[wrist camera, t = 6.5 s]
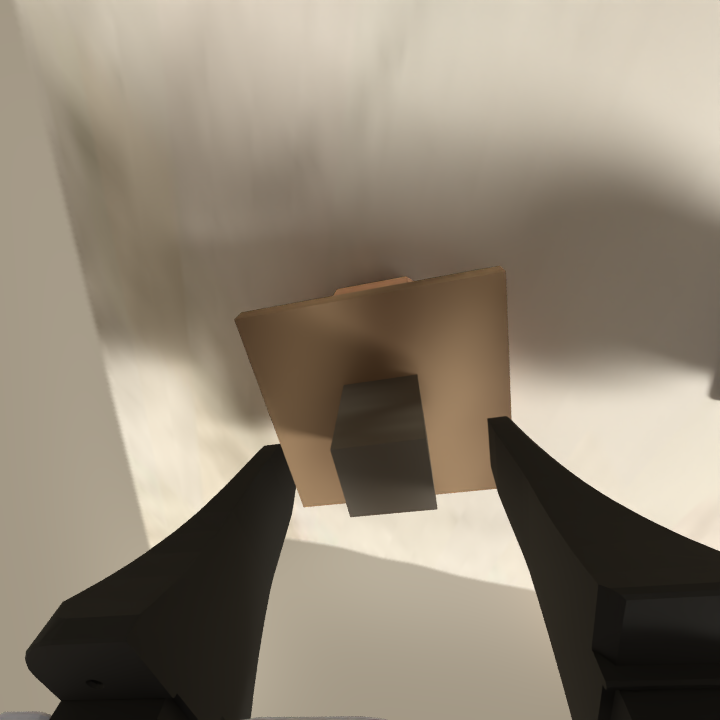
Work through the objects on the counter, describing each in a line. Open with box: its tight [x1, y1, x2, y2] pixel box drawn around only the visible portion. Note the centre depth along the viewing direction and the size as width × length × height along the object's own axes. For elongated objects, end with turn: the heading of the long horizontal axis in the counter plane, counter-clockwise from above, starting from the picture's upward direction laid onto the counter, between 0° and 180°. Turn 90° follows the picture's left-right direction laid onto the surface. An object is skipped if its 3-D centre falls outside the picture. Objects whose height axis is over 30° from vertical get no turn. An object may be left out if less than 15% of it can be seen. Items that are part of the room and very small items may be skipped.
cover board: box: [234, 266, 511, 517], centre depth 15 cm, size 10×10×5 cm
